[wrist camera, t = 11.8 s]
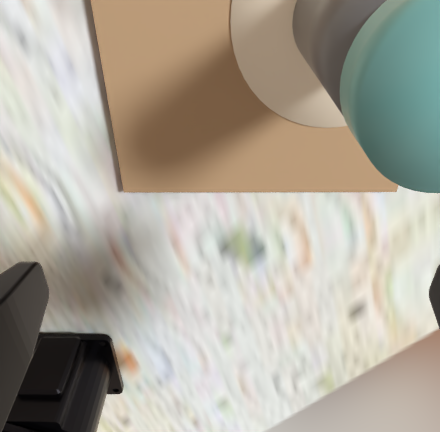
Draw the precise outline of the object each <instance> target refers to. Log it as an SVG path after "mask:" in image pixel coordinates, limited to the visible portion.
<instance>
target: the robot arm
mask: <svg viewBox="0 0 440 432" xmlns="http://www.w3.org/2000/svg"><path fill="white" fill-rule="evenodd" d="M48 298H49V288H48V285H47V282H46V279H45V276H44V272H43V269H42V267H41V265H40V264H39V263H38V262H19V263H17V264H16V265H14V266H12V267H11V268H9V269H8V270H6V271H5V272H3V273H2V274H0V432H96V431H97V428H98V424H99V420H100V417H101V413H102V409H103V405H104V402H105V398H106V394H120V393H122V391H123V387H124V385H123V381H122V377H121V374H120V370H119V366H118V362H117V358H116V354H115V350H114V346H113V342H112V339H111V338H110V337H109V336H107V335H38V334H39V331H40V327H41V324H42V320H43V316H44V313H45V309H46V306H47V302H48ZM429 298H430V302H431V305H432V308H433V311H434V314H435V317H436V320H437V323H438V326H439V329H440V265H439V266H438V268H437V270H436V273H435V276H434V278H433V281H432V283H431V286H430V289H429Z"/></svg>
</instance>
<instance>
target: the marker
mask: <svg viewBox="0 0 440 432" xmlns="http://www.w3.org/2000/svg"><path fill="white" fill-rule="evenodd" d="M292 28H293V36H294V40H295V43H296V45H297V48H298V49H299V51H300V53H301V54H302V56H303V57H304V59H305V60H306V62H307V63H308V65H309V66H310V68H311V69H312V71H313V72H314V74H315V75H316V77H317V78H318V80H319V81H320V83H321V84H322V86H323V87H324V88H325V90H326V91H327V93H328V94H329V96H330V97H331V99H332V100H333V102H334V103H335V105H336V106H337V108H338V109H339V111H340V112H341V114H342V115H343V117H344V119H345V122H346V124H347V126H348V127H349V129H350V131H351V133H352V134H353V136H354V137H355V139H356V140H357V142H358V143H359V145H360V146H361V148H362V149H363V151H364V152H365V154H366V155H367V157H368V158H369V160H370V161H371V163H372V164H373V165H374V167H375V168H376V169H377V170H378V171H379V172H380V173H381V174H382V175H383V176H384V177H386V178H387V179H389V180H390V181H392V182H393V183H396V184H398V185H400V186H402V187H404V188H408V189H411V190H414V191H420V192H426V193H440V0H297V2H296V5H295V9H294V13H293V20H292Z"/></svg>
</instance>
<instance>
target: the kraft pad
mask: <svg viewBox="0 0 440 432" xmlns="http://www.w3.org/2000/svg"><path fill="white" fill-rule="evenodd" d="M296 2H297V0H91V6H92V11H93V17H94V23H95V29H96V35H97V40H98V46H99V52H100V58H101V63H102V69H103V75H104V81H105V87H106V92H107V98H108V104H109V110H110V116H111V121H112V127H113V133H114V139H115V144H116V150H117V156H118V162H119V168H120V173H121V179H122V185H123V191H124V192H397V188H398V184H396V183H393V182H392V181H390V180H389V179H387V178H386V177H384V176H383V175H382V174H381V173H380V172H379V171H378V170H377V169H376V168H375V167H374V165H373V164H372V163H371V161H370V160H369V158H368V157H367V155H366V154H365V152H364V151H363V149H362V148H361V146H360V145H359V143H358V142H357V140H356V139H355V137H354V136H353V134H352V133H351V131H350V129H349V127H348V126H347V124H346V122H345V119H344V117H343V115H342V114H341V112H340V111H339V109H338V108H337V106H336V105H335V103H334V102H333V100H332V99H331V97H330V96H329V94H328V93H327V91H326V90H325V88H324V87H323V86H322V84H321V83H320V81H319V80H318V78H317V77H316V75H315V74H314V72H313V71H312V69H311V68H310V66H309V65H308V63H307V62H306V60H305V59H304V57H303V56H302V54H301V53H300V51H299V49H298V48H297V45H296V43H295V40H294V36H293V28H292V20H293V13H294V9H295V5H296Z"/></svg>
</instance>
